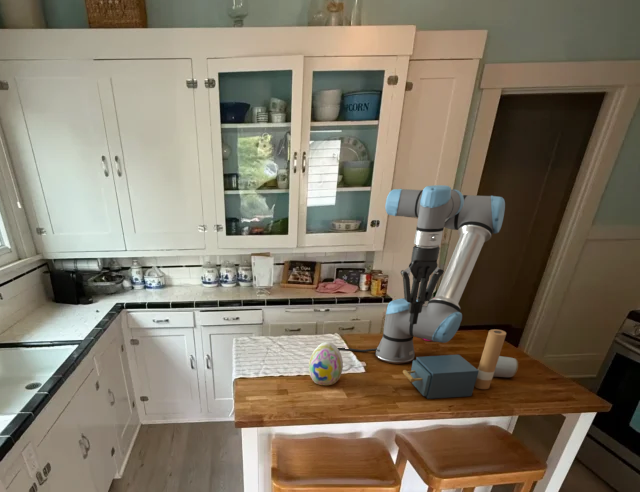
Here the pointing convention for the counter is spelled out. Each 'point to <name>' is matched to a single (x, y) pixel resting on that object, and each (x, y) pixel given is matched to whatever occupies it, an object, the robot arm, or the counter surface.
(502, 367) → the ceramic mug
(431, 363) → the cabinet
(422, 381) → the drawer
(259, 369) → the counter surface
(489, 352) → the paper roll
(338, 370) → the decorative egg
